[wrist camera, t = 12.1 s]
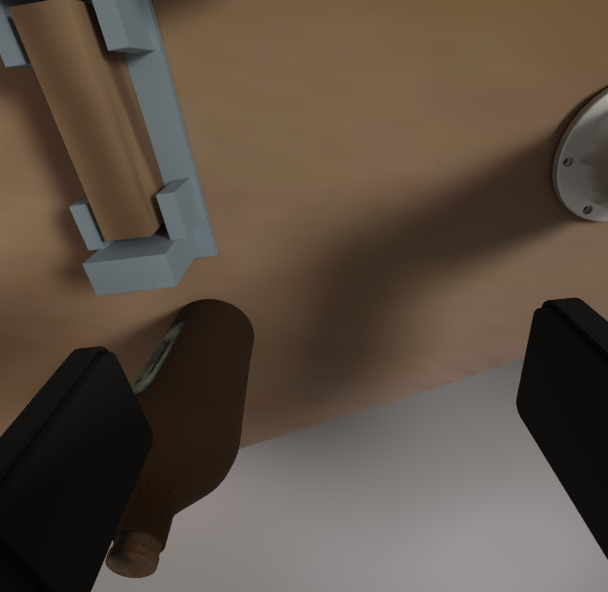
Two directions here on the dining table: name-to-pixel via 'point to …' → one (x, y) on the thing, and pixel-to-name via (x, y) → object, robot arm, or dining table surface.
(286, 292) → the dining table surface
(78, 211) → the grey bracket base
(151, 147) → the rail
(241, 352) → the olive oil
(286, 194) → the dining table surface
